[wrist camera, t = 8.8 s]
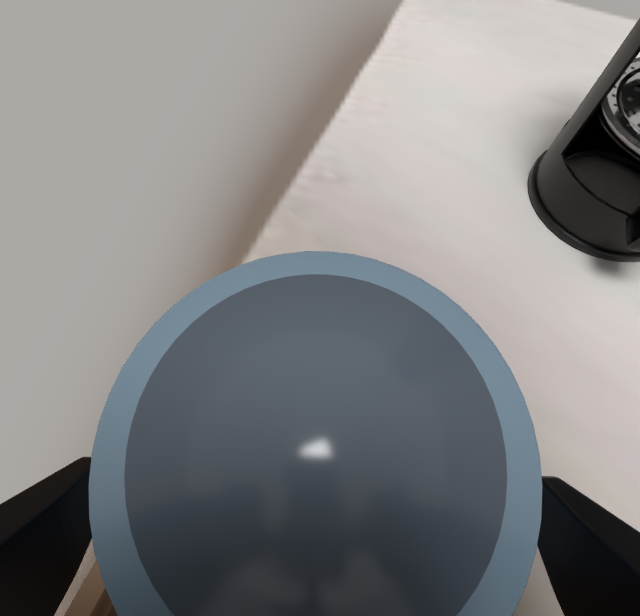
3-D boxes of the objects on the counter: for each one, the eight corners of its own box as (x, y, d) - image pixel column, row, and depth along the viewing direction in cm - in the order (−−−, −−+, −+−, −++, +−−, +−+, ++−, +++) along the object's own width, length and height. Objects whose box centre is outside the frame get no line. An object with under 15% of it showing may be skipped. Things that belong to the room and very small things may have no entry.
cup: (419, 498, 17) (644, 507, 5) (293, 598, 16) (221, 914, 4) (335, 377, 19) (364, 194, 8) (217, 453, 18) (26, 375, 6)
